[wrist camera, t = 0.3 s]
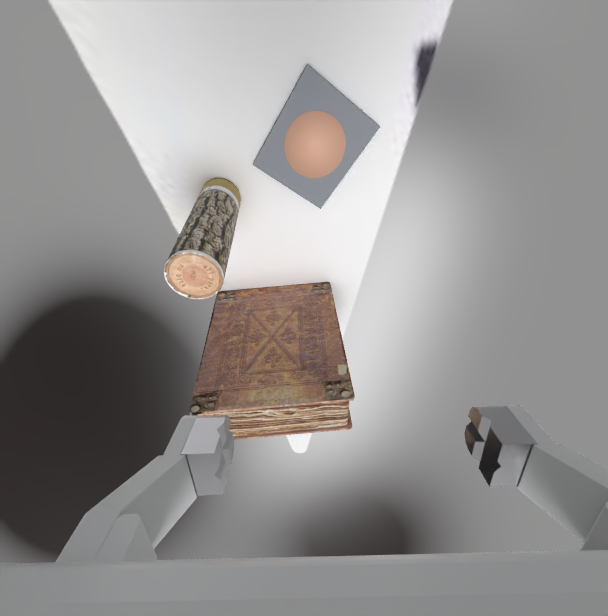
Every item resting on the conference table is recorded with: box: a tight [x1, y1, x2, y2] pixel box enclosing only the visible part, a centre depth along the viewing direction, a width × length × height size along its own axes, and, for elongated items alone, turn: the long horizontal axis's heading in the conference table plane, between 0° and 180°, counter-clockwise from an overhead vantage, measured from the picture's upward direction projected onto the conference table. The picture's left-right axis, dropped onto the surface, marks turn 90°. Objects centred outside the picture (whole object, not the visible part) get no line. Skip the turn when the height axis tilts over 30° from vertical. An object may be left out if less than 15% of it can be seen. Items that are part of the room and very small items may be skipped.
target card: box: [253, 64, 380, 209], centre depth 52 cm, size 16×14×1 cm
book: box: [189, 282, 354, 439], centre depth 62 cm, size 25×9×30 cm, turn 93°
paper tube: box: [164, 178, 241, 299], centre depth 47 cm, size 7×7×25 cm
